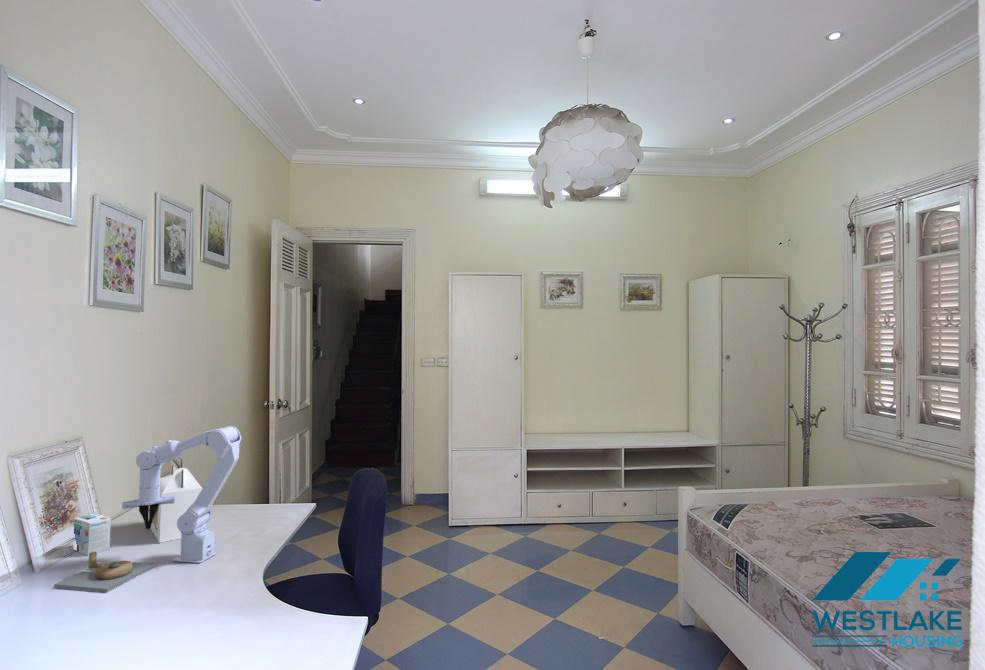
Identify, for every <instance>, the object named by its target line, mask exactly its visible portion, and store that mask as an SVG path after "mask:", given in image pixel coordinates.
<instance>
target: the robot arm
mask: <svg viewBox="0 0 985 670" xmlns="http://www.w3.org/2000/svg"><path fill="white" fill-rule="evenodd" d="M241 440H242V435H241V433H240V431H239V429H238V428H237V427H236V426H233V425H227V426H225V427H220V428H215V429H211V430H207V431H204V432H203V431H202V432H201V433H198V434H196V435H193V436H191V437H189V438H187V439H184V440H181V441H178V440H175V439H174V440H172V439H168V440H166V441H165V443H164V444H161V445H154V446H152V448H151V449H149V450H143V451H142V452H140V453H139V454H137V456H136V458H135V463H136V466H137V467H138V468H139V484H138V485H139V487H138V493H139V494H138V499H134V500H128V501H123V502H121V503H122V504H121V507H122V508H121V509H122V510H126V509H134V508H138V512H139V514H140V515H141V517H142V519H143V521H144V525H145V529H146V530H149V529H150V530H151V524H152V520H153V518H154V515H155V513H156V511H157V509H158V507H159V505H161V504H170V503H171V504H175V496H174V497H160V470H161V468H162V465H163V464H165V463H166V462H167V461H170V460H172V459H175V458H177V457H179V458H181V457H182V455H183V454H184V451H186V450H189V449H192V448H195V447H198V446H200V445H204V446H205V447H208V446H209V447H210V449H211V450H212V452H214V454H215V455H216V456H217V458H218V461H217V463H216V465H215V466H214V468H213V470H212V472H210V475H208V476H209V477H208V478H207V480H206V482H205V484H204V485H203V487H202V490H201V492H200V494H199V495H198V497H197V499H196V500H195V502H194V503H193V504H192V505H191V506H190V507H189V508H188V509H187V511H186V512H185V513H184V514H183V515H181V516H180V517H179V519H178V521H177V527H178V529H179V530H180V531H181V539H180V556H178V557H175V558H174V559H173V561H174V562H183V563H194V564H201V563H203V562H204V561H206V560H208V559H210V558H211V557H213V556H215V555H216V554H217V552H216V550H215V549H216V547H215V546H216V545H215V544H216V535H215V533H214V531H211V530H209V529H207V528H208V523H209V521H211V519H212V518H211V517H212V511H213V509H214V506H213V504H214V502H215V500H216V499H217V497H218V495H219V493H220V492H221V490H222V488H223V487H224V485H225V483H226V482H227V480H228V478H229V476H230V475H231V473H232V471H233V470H234V468H235V466H236V464H237V463H238V461H239V458H240V444H241V442H242V441H241Z"/></svg>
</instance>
